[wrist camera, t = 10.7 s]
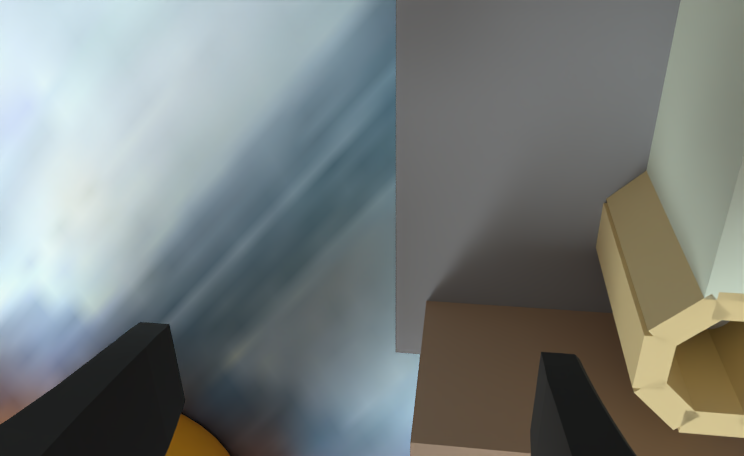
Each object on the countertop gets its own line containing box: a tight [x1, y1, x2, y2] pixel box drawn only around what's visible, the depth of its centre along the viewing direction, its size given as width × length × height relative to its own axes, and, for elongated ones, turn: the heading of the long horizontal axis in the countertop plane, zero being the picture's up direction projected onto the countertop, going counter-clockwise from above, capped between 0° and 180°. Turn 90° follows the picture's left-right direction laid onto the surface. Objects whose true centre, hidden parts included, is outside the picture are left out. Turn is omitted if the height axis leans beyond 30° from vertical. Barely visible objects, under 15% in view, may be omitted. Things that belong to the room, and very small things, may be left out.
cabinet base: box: [396, 0, 744, 456], centre depth 16 cm, size 20×16×7 cm
